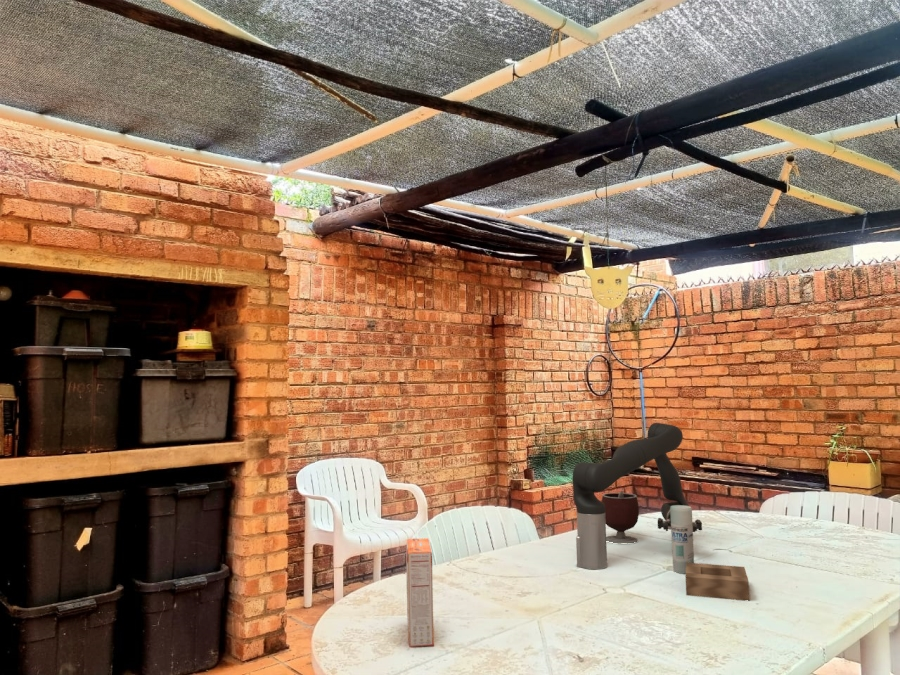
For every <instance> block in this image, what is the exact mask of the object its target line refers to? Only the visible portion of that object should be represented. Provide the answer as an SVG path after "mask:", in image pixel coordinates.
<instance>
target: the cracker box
mask: <svg viewBox="0 0 900 675" xmlns="http://www.w3.org/2000/svg"><path fill="white" fill-rule="evenodd" d="M405 549H406V552H405V553H406V554H405V555H406V556H405V557H406V558H405V559H406V560H405V561H406V564H405V565H406V566H405V567H406V610H407V611H406V613H407V614H406V615H407V617H406V619H407V634H408V635H407V636H408V645H409V648H418V647H431V646H433V647H434V646H435V642H434V640H435V638H434V637H435V635H434V597H433V596H434V588H433V586H434V585H433V578H434V577H433V551H432V547H431V543H430V538H426V537H425V538H407V539H406V548H405Z"/></svg>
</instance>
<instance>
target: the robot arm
mask: <svg viewBox="0 0 900 675" xmlns="http://www.w3.org/2000/svg"><path fill="white" fill-rule="evenodd" d="M683 438H684V437H683V432H682V430H681V429H680V428H679V427H678V426H676V425H673V424H667V423H661V422H654V423H652V424H650V426H649V427H648V429H647V438H639V439H635V440H630V441H627V442H625V443H624V444H622V445H620V446H619V447H617V449H615V451H614V452H613V455H612V458H611V459H609V460H607V461H604V462H600V463H599V462H598V463H597V462H596V463H595V462H587V461H586V462H585V461H582V462H581V461H580V462H579V463H577V464H575V466H574V468H573V471H572V490H573V491H572V492H573V501H574V504H575V507H576V524H577V525H576V528H577V532H576V533H577V535H576V537H575V541H576V544H575V545H576V548H575V549H576V566H577V567H578V568H583V569H586V570H601V569H605V568H607V567H608V557H607V556H608V551H607V547H608V546H607V542H606V537H607V525H606V518H605V505H604V503H603V502H602V500H600V499H599V498H598V497H597V496H596V495H595V493H598V492H600V493H601V492H603V491H605V490H607V489H608V488H609V487H611V486H612V485H614V483H616V482H617V481H618V480H619V479H621V478H623V477H625V476H626V475H628V474H629V473H630V474H631V472H634V471H635V470H637V469H639V468H641V467H642V466H644V465H645V464H647V463H649V462H651V461H653V460H654V461H655V465H656V467H657V469H658V470H657V471H658V474H659V476H660V477H659V478H660V482H661V487H662V488H661V489H662V494H663V497H664V498H665V499H666V500H669V501H668V502H664V503H662V505H661V508H660V513H661V516H662V518H661V517H658V518H657V529H659V530H661V529H662V528H663V530H665V531H666V532H669V530H670V531H671V515H670V507H671V506H673V505H684V506H690V505H689V503H688V502H687V500H686V497H685V496H684V492H683V488H682V480H681V477H680V474H679V472H678V470H677V469H676V467H675V466H674V464H673V463H672V462H671V460H670V458H669V457H668V455H667V453H670V452H672V451H673V452H674V451H675V450H677V449H678V448H679V447H680V446H681V444H682V442H683ZM692 524H693V533H696V532H697V531H703V523H702V521H701V520H700V519H699V518H697V519H695V520H694V521H692Z"/></svg>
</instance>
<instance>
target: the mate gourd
mask: <svg viewBox="0 0 900 675" xmlns="http://www.w3.org/2000/svg"><path fill="white" fill-rule="evenodd" d="M601 502H603V503H604V505H605V518H606V527H608V528H611V529H613V530H614V531H616V534H615V535H610V536H606V541H609V542H613V543H634V542H637V541H638V540H639V539H638V538H636V537H634V536H628V535H626V533H625V532H626V531H628V530H630V529H634V528H635V526H636V524H637V523H638V521H639V513H640V512H639V511H640V510H639V508H640V507H639V501H638V497H637V495H636V494H633V493H627V492H624V491H623V490H621V491H620V492H607V493H603V494H602V497H601ZM609 542H608V543H609ZM638 542H639V541H638ZM638 542H637V543H638ZM613 543H612V544H613ZM634 544H635V543H634Z"/></svg>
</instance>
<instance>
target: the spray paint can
mask: <svg viewBox="0 0 900 675" xmlns="http://www.w3.org/2000/svg"><path fill="white" fill-rule="evenodd" d="M670 515H671V530H670V532H671V548H672V549H671V550H672V551H671V552H672V554H671V555H672V568H673V569H672V570H673V572H674V573H675V572H676V574H679V575H686V563H695V556H694V532H693V524H692V522H693V508H692V506H690V505H689V506H684V505H673V506H671V507H670Z"/></svg>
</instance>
